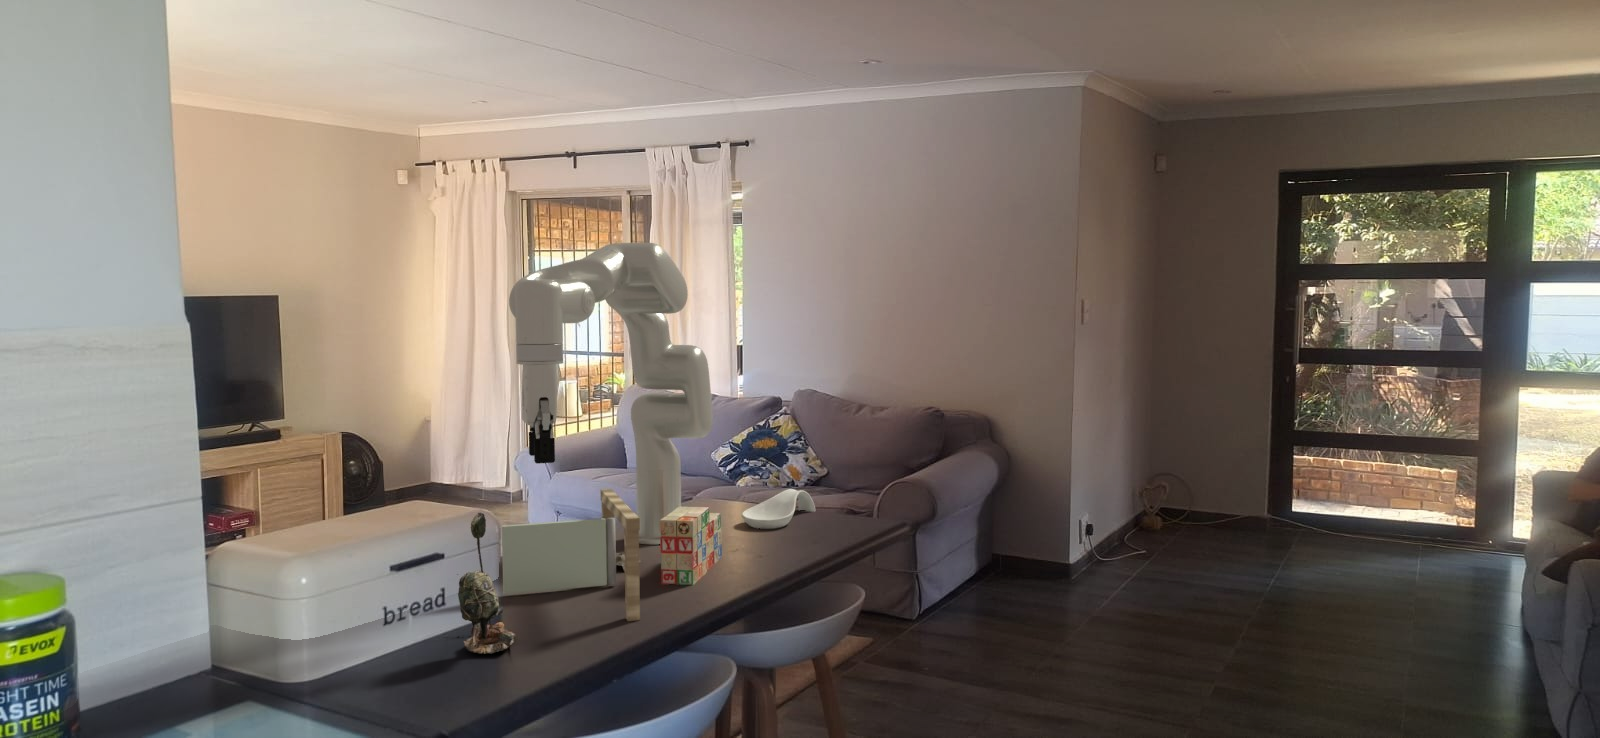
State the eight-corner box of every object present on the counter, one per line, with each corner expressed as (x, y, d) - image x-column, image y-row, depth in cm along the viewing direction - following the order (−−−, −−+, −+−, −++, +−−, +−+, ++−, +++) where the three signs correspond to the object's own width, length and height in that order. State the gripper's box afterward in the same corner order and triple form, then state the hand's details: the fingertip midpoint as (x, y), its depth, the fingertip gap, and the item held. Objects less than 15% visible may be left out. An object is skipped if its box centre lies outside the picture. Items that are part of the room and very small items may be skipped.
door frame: (602, 580, 202) (600, 489, 201) (612, 579, 202) (611, 488, 201) (628, 623, 175) (627, 518, 174) (641, 621, 176) (639, 518, 175)
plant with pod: (440, 656, 160) (437, 521, 158) (484, 633, 170) (481, 507, 169) (489, 661, 157) (485, 525, 156) (530, 637, 168) (527, 509, 167)
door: (615, 582, 198) (614, 517, 197) (616, 584, 197) (615, 519, 196) (503, 592, 192) (501, 525, 191) (503, 594, 190) (502, 527, 190)
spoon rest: (776, 536, 239) (776, 504, 238) (731, 531, 244) (731, 499, 244) (828, 517, 259) (828, 487, 258) (785, 512, 265) (785, 483, 264)
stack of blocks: (692, 557, 220) (691, 497, 219) (722, 558, 219) (721, 498, 218) (660, 585, 199) (659, 518, 198) (693, 586, 198) (692, 519, 197)
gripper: (512, 353, 186) (514, 453, 187) (520, 358, 170) (523, 467, 171) (556, 352, 189) (558, 451, 190) (569, 357, 172) (571, 465, 173)
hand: (541, 458), depth 180 cm, fingers open, 8 cm apart
